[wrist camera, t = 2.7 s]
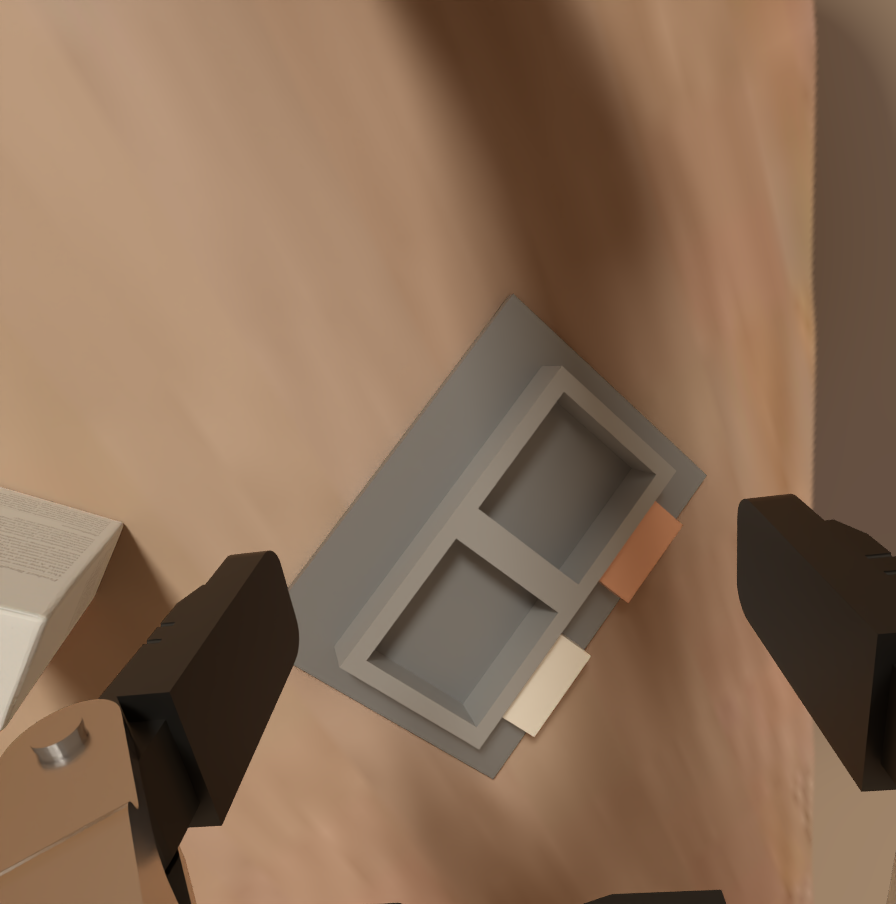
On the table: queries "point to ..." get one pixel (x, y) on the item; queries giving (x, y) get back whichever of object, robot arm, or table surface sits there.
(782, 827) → the table surface
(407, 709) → the tray
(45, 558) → the skincare box
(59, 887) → the robot arm
